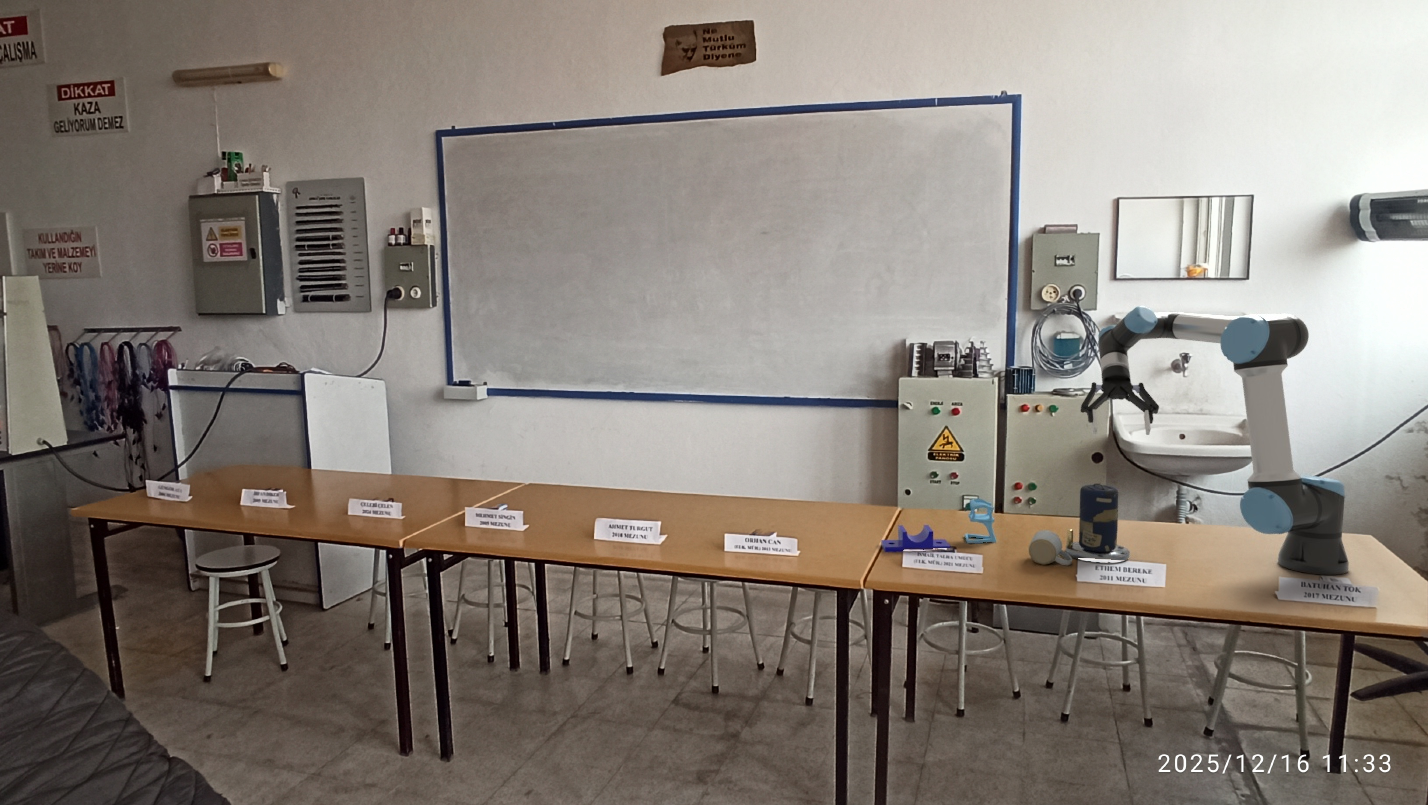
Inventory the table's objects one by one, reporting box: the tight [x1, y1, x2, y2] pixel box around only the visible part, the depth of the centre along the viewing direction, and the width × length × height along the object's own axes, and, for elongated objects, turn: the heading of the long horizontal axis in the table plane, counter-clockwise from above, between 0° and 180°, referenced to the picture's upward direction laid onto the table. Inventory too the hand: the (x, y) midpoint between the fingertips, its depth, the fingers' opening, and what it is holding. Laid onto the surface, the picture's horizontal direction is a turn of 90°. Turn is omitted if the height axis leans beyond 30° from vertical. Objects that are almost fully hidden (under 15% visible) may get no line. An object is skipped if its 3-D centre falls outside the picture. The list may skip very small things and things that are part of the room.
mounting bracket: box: [880, 524, 952, 553], centre depth 266 cm, size 18×7×6 cm, turn 88°
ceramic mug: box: [1028, 529, 1073, 567], centre depth 249 cm, size 11×8×8 cm
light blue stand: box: [964, 498, 997, 544], centre depth 271 cm, size 8×8×12 cm
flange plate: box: [1065, 528, 1131, 561], centre depth 255 cm, size 16×16×6 cm
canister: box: [1078, 483, 1119, 552], centre depth 254 cm, size 10×10×18 cm
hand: (1121, 431), depth 262 cm, fingers open, 13 cm apart
